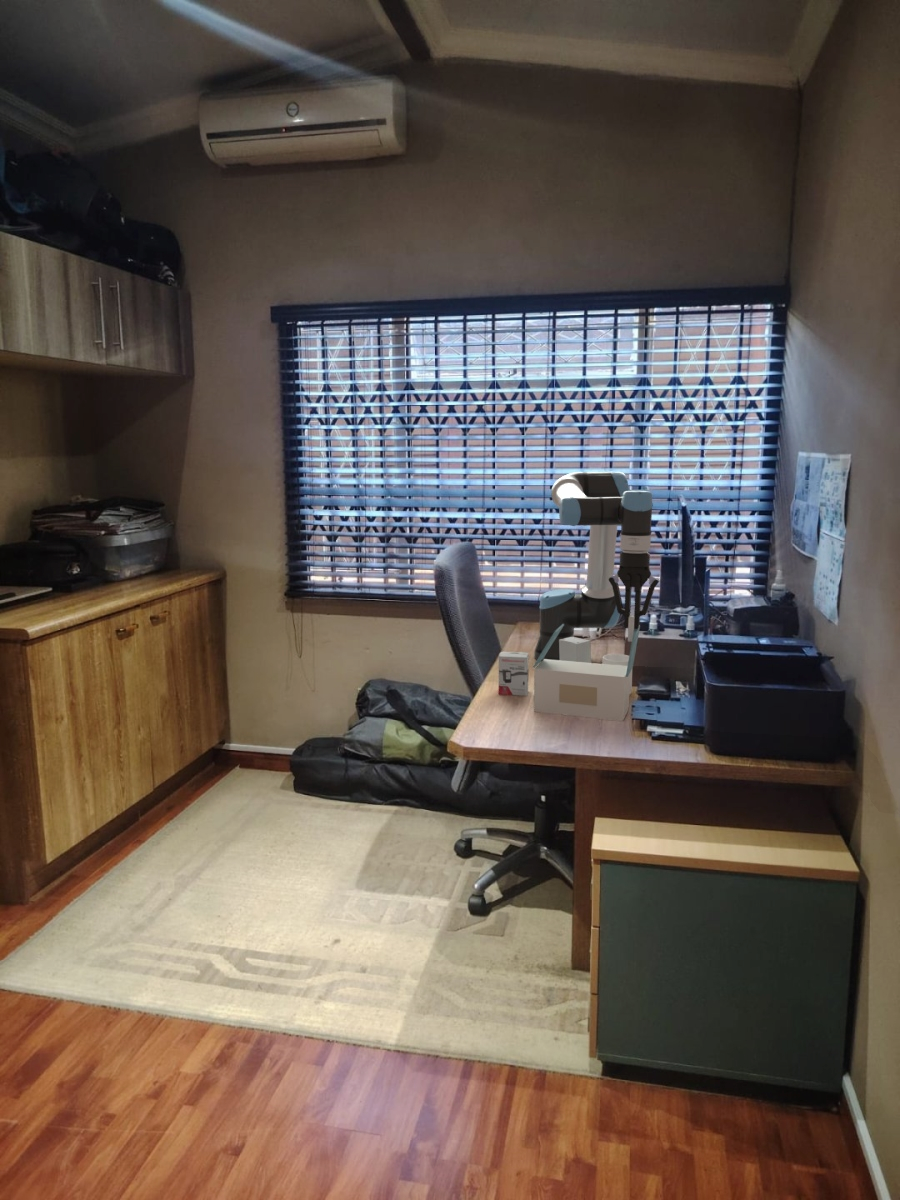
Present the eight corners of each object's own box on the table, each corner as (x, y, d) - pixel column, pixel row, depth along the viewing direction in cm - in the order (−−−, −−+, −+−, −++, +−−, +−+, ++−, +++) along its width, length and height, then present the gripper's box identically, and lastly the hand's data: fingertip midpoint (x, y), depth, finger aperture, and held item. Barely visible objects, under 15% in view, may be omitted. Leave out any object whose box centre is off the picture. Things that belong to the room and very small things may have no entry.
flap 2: (630, 667, 210) (632, 667, 210) (625, 676, 201) (627, 677, 201) (638, 624, 207) (640, 625, 207) (633, 632, 198) (635, 632, 198)
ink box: (497, 694, 226) (497, 655, 224) (499, 689, 231) (499, 651, 229) (527, 696, 225) (527, 656, 222) (528, 691, 229) (529, 652, 227)
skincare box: (591, 689, 231) (593, 640, 228) (576, 692, 227) (577, 643, 225) (572, 682, 237) (573, 635, 235) (557, 685, 234) (558, 638, 231)
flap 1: (534, 667, 210) (532, 666, 210) (542, 659, 218) (541, 658, 218) (556, 632, 205) (554, 631, 206) (564, 624, 214) (562, 623, 214)
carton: (543, 699, 221) (544, 659, 219) (628, 708, 213) (630, 666, 211) (533, 711, 211) (534, 669, 209) (622, 721, 203) (624, 677, 200)
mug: (603, 700, 220) (603, 664, 218) (600, 688, 232) (601, 653, 230) (633, 701, 219) (635, 664, 217) (630, 688, 230) (631, 654, 228)
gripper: (607, 551, 198) (604, 641, 202) (659, 554, 193) (654, 645, 198) (612, 548, 205) (608, 635, 209) (662, 550, 200) (658, 639, 205)
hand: (631, 640), depth 203 cm, fingers closed
